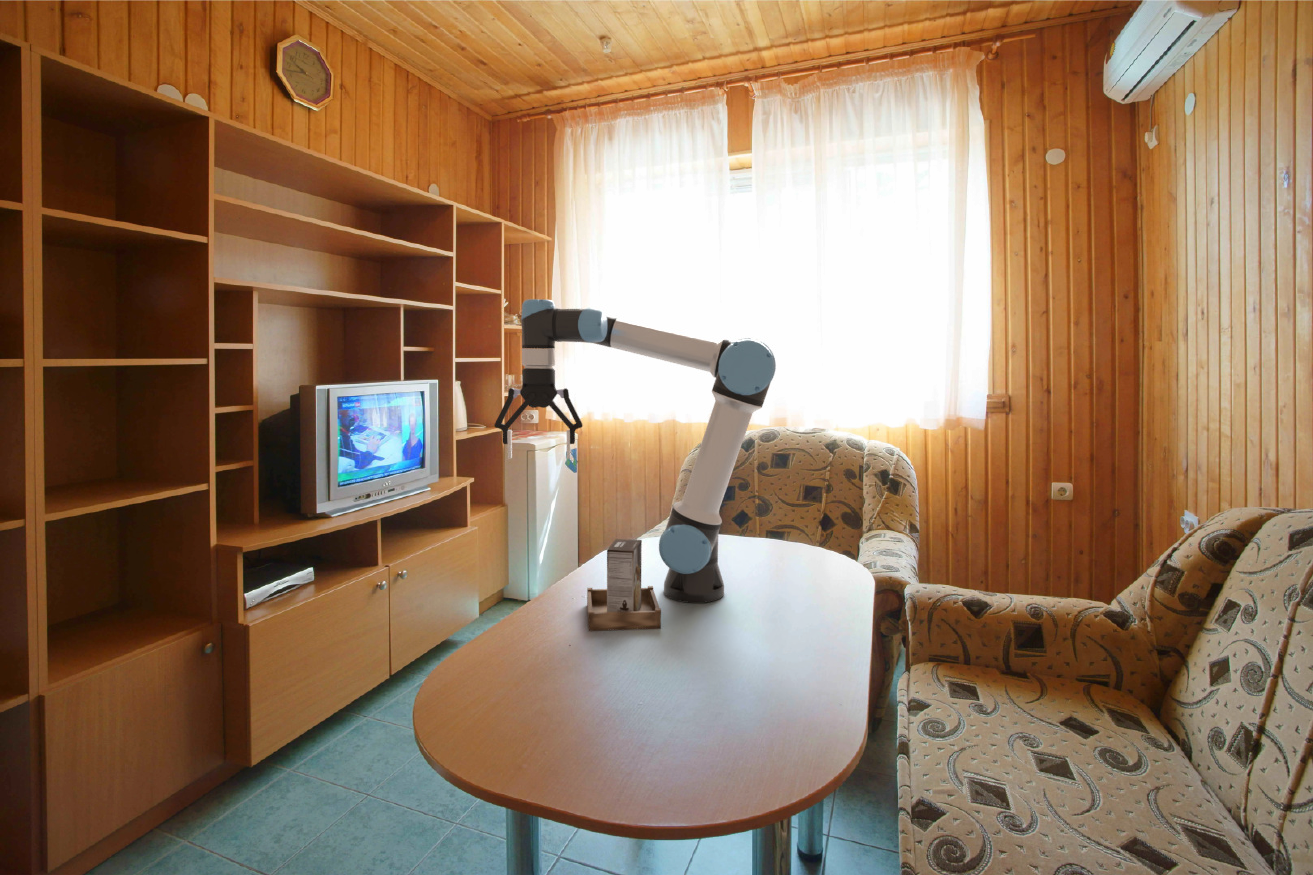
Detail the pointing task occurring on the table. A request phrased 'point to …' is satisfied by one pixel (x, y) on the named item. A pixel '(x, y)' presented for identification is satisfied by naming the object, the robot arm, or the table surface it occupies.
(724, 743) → the table surface
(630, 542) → the coffee box
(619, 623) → the crate
